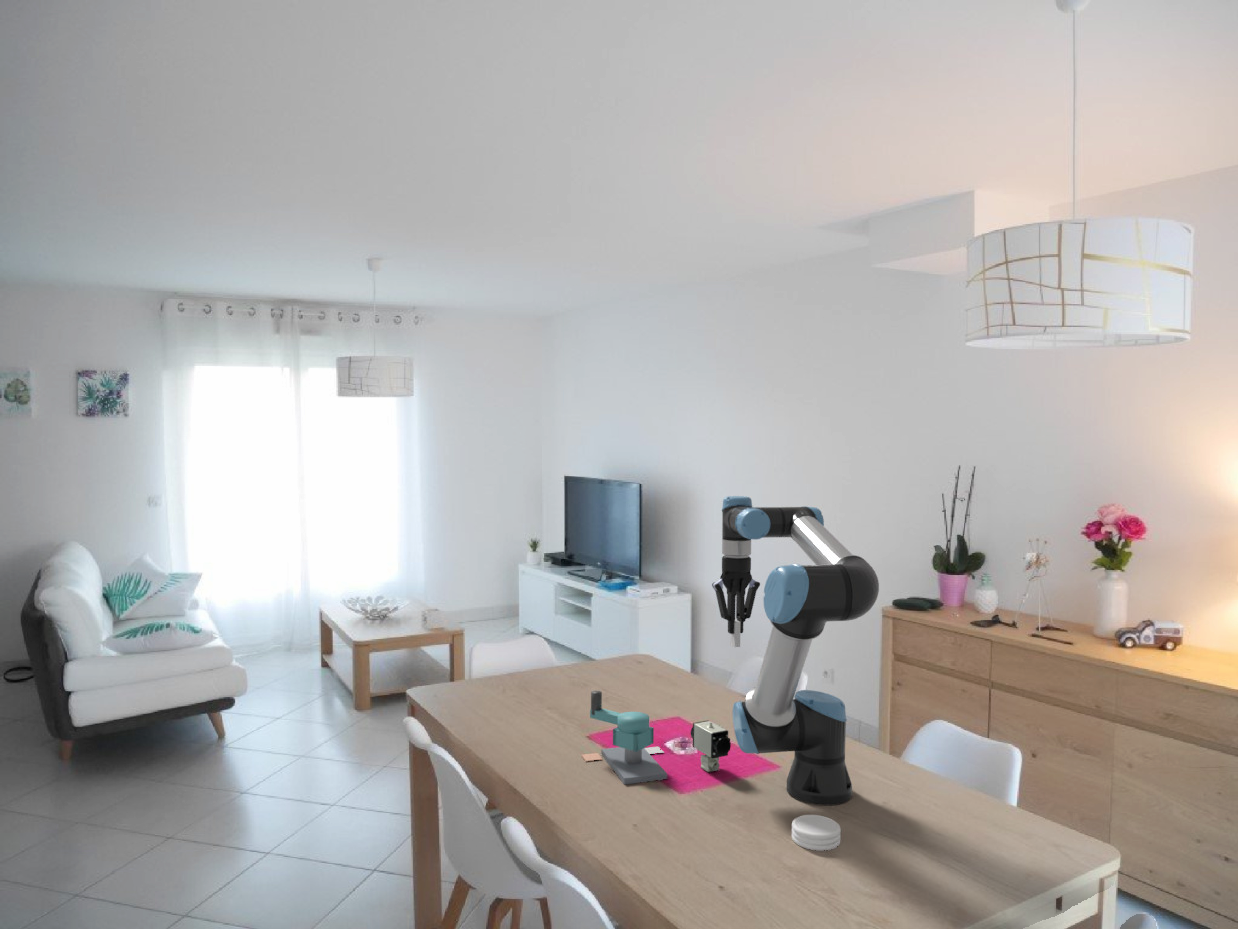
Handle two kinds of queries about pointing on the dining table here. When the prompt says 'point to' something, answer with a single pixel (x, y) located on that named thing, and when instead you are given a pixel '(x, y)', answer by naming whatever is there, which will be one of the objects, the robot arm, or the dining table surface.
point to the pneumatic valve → (710, 743)
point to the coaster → (816, 832)
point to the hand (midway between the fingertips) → (735, 645)
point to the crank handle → (624, 725)
